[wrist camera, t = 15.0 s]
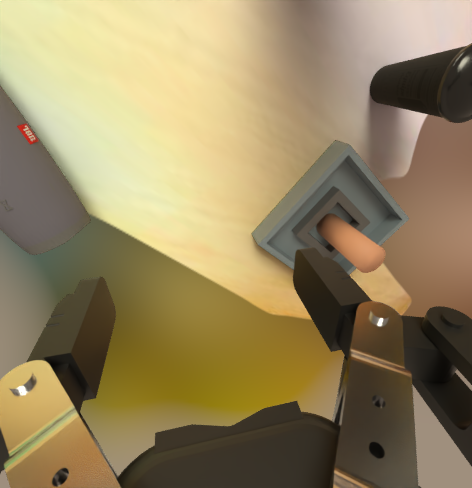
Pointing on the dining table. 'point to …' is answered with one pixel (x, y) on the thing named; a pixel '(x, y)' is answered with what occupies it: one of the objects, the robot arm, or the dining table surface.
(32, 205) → the bluetooth speaker
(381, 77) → the drinking cup
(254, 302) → the dining table surface
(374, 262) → the peg
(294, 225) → the tray
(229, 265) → the dining table surface
